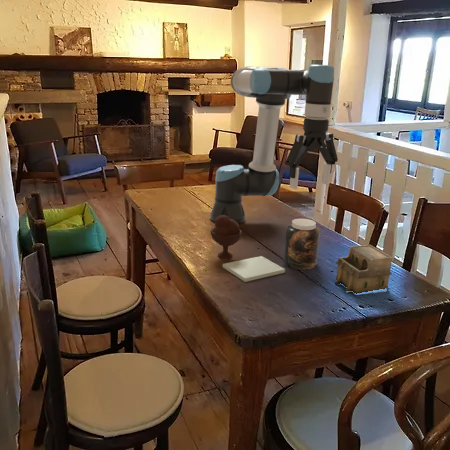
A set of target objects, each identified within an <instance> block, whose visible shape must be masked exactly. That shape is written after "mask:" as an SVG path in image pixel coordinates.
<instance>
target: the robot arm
mask: <svg viewBox="0 0 450 450" xmlns="http://www.w3.org/2000/svg"><path fill="white" fill-rule="evenodd" d="M334 81H335V67H334V66H333V65H331V64H330V65H329V64H310V66H309V67H308V69H301V70H300V69H287V68H285V67H280V66H279V67H278V66H253V65H252V66H250V65H249V66H243V67H240V68H238V69H237V70H235V71H234V72H233V73H232V75H231V77H230V86H231V88H232V90H233V91H234V92H235V94H237V95H240V96H242V97H246V98H254V99H255V102H256V103H257V105H258V113H257V120H256V121H257V123H256V131H255V139H254V147H253V148H254V149H253V156H252V161H251V162H249V163H248V168H244V166H243V165H241V164H229V165H223V166H220V167H219V168H217V170H216V172H215V178H214V179H215V187H214V188H215V190H214V192H215V193H214V203H213V205H212V209H211V212H210V215H209V218H210V219H209V220H211V221H212V222H213V223H215V220H216V218H217V217H218V216H220V215H226V216H228V217H229V218H230V219H233V220H235V221H236V222H237V223H238V225H239V224H242V223H244V222H245V220H246V214H245V213H246V212H245V209H244V207H243V197H267V196H268V197H269V196H273V195H274V194H276V192H277V190H278V187H279V185H280V172H279V170H278V169H277V167H276V165H275V164H274V158H275V152H276V151H275V150H276V143H277V138H278V137H277V136H278V129H279V120H280V114H281V109H282V107H283V106H285V104H286V100H289V99H290V98H291V96H306V97H305V106H304V116H305V117H304V119H303V126H302V129H303V131H304V134H303V135H302V134H298V133H297V134H296V135H295V137H294V141H293V144H292V147H290V151H289V153H288V155H287V158H286V159H285V162H284V165H285V166H288V167H289V175H288V176H289V178H290V179H289V188H291V189H295V190H298V183H299V176H300V175H299V174H300V167H298V166H299V165H301V164H300V163H301V162H302V161H303V159H304V158H305V156H306V155H307V154H308V152H310V151H311V150H315V149H317V150H318V151H319V152H320V155H321V156H322V158H323V160H324V162H323V165H322V175H321V182H320V183H321V184H322V185H323V184H324V185H330V178H331V173H332V169H333V166H334V165H335V164H336V162H338V161H339V158H338V154H337V151H336V150H337V149H336V147H335V142H334V133H332V132H328V130H329V124H330V123H329V122H330V120H329V118H330V114H331V105H332V95H333V87H334Z"/></svg>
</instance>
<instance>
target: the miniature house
mask: <svg viewBox="0 0 450 450" xmlns="http://www.w3.org/2000/svg"><path fill="white" fill-rule="evenodd" d="M337 259H338V260H337V261H336V262H335V263H336V265H337V268H336V275H335V279H336V280H337V281H336V280H335V282H334V284H335V283H336V284H340V283H341V284H343V285H344V286H345V287H347V289H346V288H345V287H344V288H345V290H344V292H345V291H353V292H354V293H356V294H357V293H362V292H368V291H373V290H379V289H385V288H387V289H389V280H390V276H391V275H393V274H392V272H391V267H392V262H393V257H392V256H391V255H389V254H387V253H385V252H384V251H382V250H380V249H378V248H376V247H375V246H373V245H371V244H362V245H361V244H360V245H353V246H350V247H349V251H348V255H346V256H342V257H338V258H337Z"/></svg>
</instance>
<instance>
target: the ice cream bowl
mask: <svg viewBox="0 0 450 450" xmlns="http://www.w3.org/2000/svg"><path fill="white" fill-rule="evenodd" d="M242 232H243V230H242V229H240V225H239V224H238V223H237V222H236V221H235V220H233V219H230V218H229V217H228V216H226V215H220V216H218V217H217V218H216V220H215V222H214V227H212V228H211V229H210V236H211V238H212V240H214V242H215V243H217V244H218V245H220V246H222V251H220V252H218V254H217V258H219V259H221V260H230V259H232V258H233V254H232V253H231V252H230V251H229V247H230V246H233V245H235V244H237V243H238V242H239V240H240V239H241V236H242Z"/></svg>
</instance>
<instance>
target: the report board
mask: <svg viewBox="0 0 450 450" xmlns="http://www.w3.org/2000/svg"><path fill="white" fill-rule="evenodd" d="M222 269H225V270H226V271H228V272H230V273H231V274H233V276H235V277H236V278H238V279H240V280H241V281H243V282H244V283H247V282H251V281H256V280H259V279H263V278H268V277H271V276H275V275H276V276H277V275H281V274H284V273H286V269H285V268H284V267H281V266H280V265H278V264H277V263H275V262H272V260H269V259H268V258H266V257H264V256H262V255H260V256H255V257H250V258H245V259H240V260H236V261H231V262H226V263H222Z"/></svg>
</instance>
